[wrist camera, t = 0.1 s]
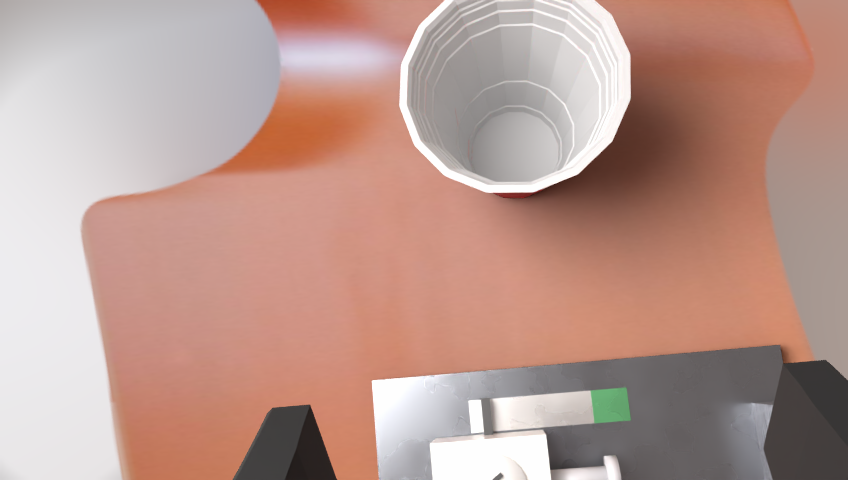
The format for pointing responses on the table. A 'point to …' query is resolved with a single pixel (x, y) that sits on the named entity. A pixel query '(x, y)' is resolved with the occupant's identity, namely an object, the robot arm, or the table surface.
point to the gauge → (506, 457)
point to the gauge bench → (597, 414)
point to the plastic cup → (515, 90)
